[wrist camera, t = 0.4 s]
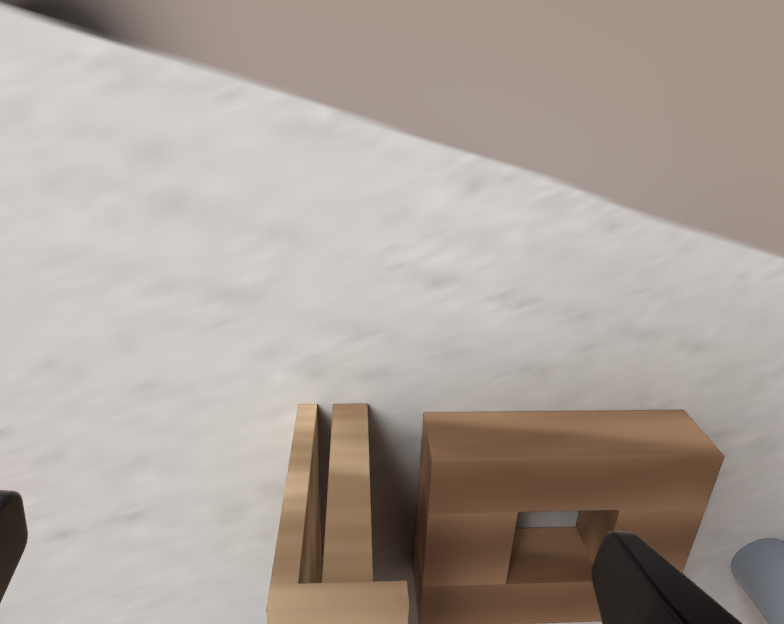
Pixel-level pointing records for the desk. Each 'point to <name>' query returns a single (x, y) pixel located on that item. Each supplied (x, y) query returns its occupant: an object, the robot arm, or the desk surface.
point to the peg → (763, 576)
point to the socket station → (488, 513)
